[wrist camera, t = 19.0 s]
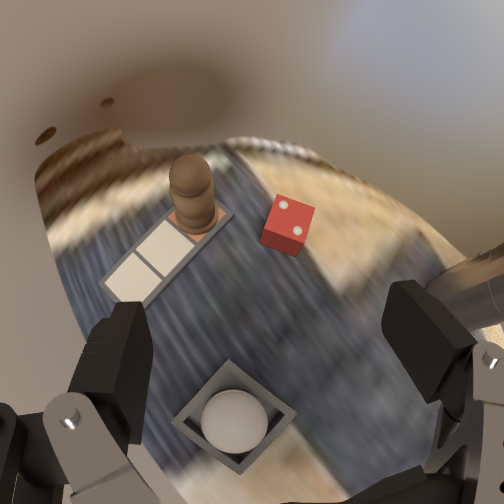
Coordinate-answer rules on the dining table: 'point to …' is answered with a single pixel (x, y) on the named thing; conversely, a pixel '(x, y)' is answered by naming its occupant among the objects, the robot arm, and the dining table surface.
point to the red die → (287, 225)
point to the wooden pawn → (193, 194)
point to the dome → (234, 420)
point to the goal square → (196, 237)
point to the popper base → (237, 378)
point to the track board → (156, 260)
